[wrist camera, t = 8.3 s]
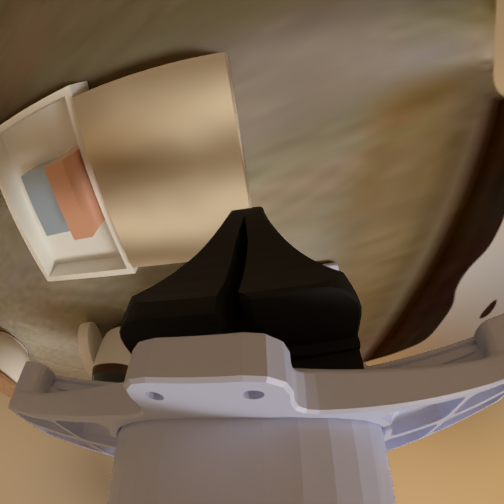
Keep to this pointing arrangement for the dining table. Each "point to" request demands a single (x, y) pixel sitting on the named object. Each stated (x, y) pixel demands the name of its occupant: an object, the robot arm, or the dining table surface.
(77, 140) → the box
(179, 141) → the birch plate
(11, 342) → the lidded bowl
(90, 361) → the spread jar
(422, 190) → the dining table surface
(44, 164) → the slate-blue tile
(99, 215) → the terracotta tile
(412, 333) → the dining table surface
